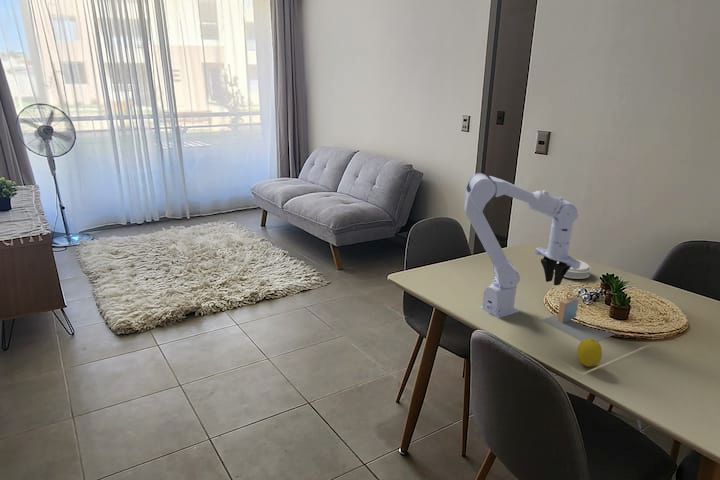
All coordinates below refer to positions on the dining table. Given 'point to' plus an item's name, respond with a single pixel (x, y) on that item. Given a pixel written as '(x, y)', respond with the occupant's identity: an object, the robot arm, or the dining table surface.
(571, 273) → the lid
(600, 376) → the dining table surface
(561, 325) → the mat
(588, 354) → the lemon
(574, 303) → the tile
